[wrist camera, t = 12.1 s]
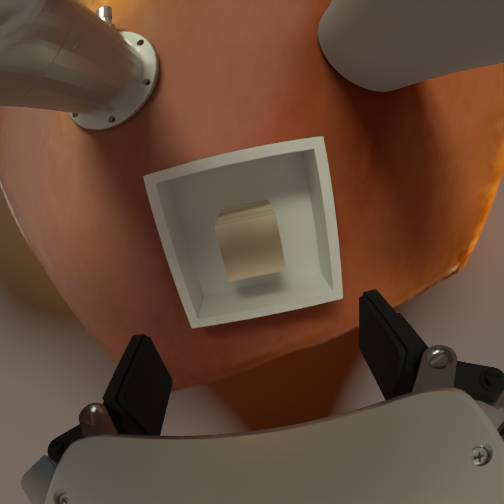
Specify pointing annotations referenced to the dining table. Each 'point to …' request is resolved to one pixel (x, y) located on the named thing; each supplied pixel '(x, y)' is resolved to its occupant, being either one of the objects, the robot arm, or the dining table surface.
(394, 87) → the cylinder vase
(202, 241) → the bin
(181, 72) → the dining table surface
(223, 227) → the birch block
